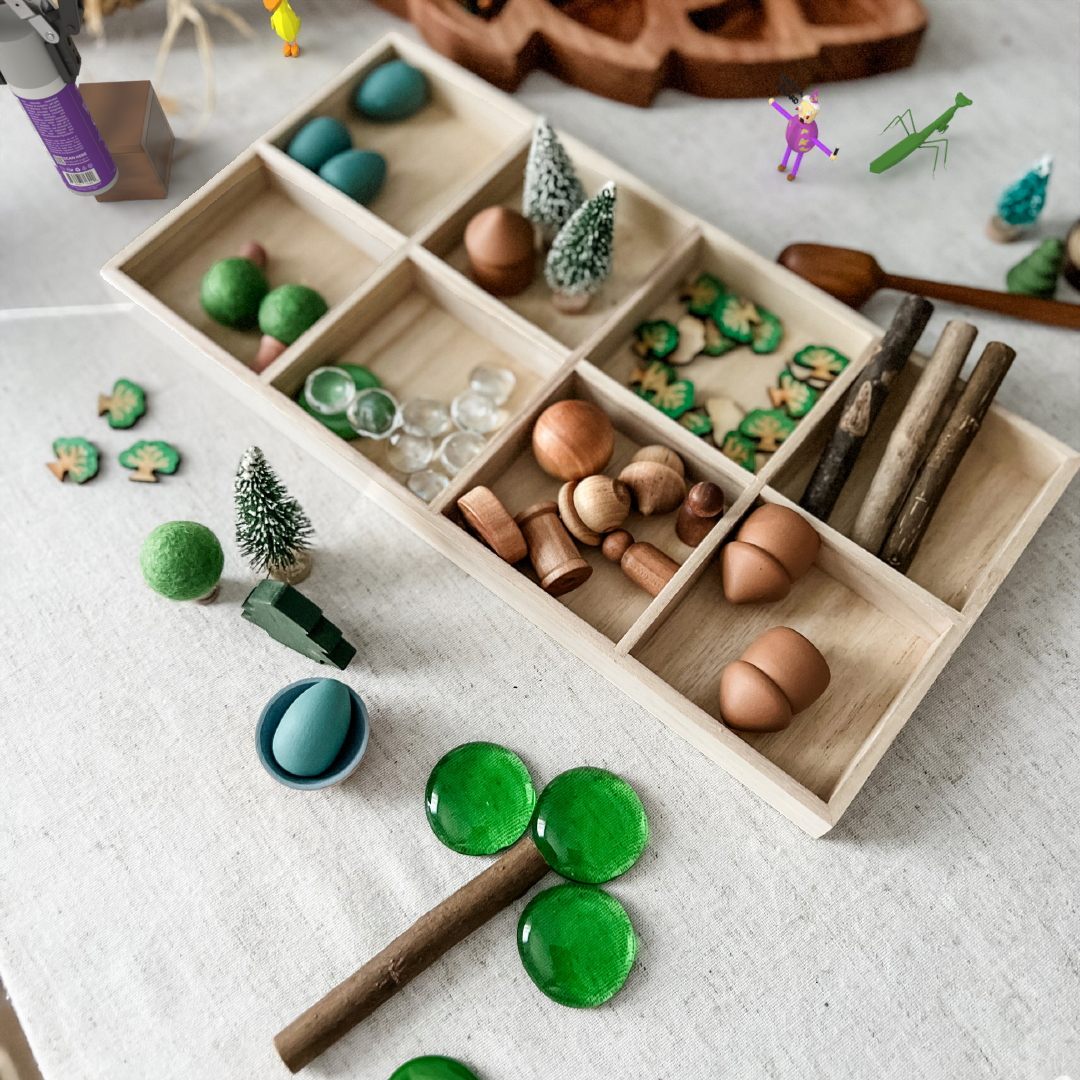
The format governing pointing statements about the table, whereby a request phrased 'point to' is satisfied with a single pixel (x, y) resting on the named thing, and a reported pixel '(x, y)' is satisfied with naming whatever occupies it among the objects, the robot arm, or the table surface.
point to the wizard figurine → (801, 127)
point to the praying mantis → (917, 138)
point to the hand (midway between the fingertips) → (37, 76)
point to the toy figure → (284, 24)
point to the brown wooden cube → (132, 137)
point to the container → (54, 109)
